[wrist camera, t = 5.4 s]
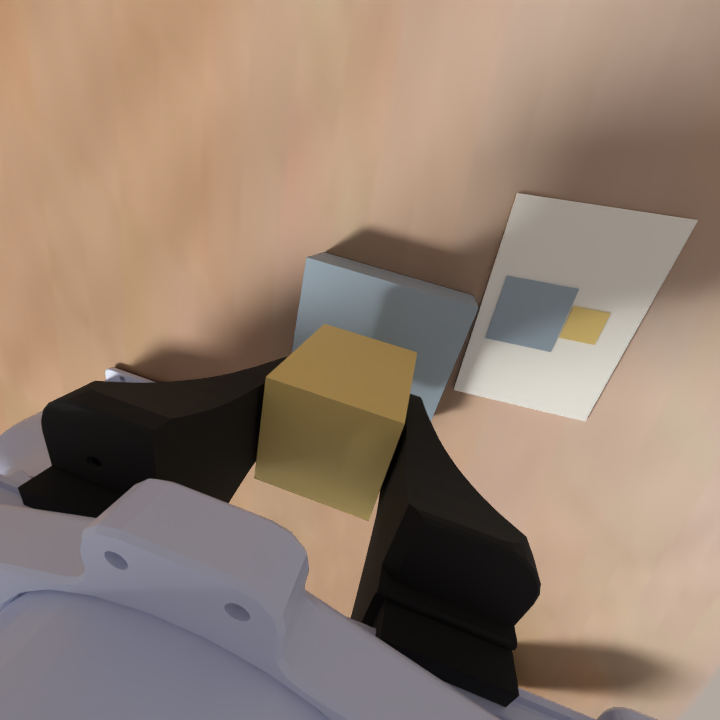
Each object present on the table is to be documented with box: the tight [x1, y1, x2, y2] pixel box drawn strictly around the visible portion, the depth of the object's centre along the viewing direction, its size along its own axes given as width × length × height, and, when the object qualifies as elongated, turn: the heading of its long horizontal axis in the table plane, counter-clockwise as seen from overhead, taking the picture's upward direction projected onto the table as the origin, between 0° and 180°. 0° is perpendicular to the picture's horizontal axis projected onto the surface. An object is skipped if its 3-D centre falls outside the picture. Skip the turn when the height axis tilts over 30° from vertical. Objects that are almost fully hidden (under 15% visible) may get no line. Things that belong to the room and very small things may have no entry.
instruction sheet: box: [454, 193, 698, 421], centre depth 15 cm, size 7×10×1 cm
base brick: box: [292, 252, 479, 421], centre depth 17 cm, size 8×8×2 cm
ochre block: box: [254, 324, 417, 521], centre depth 12 cm, size 4×4×5 cm
